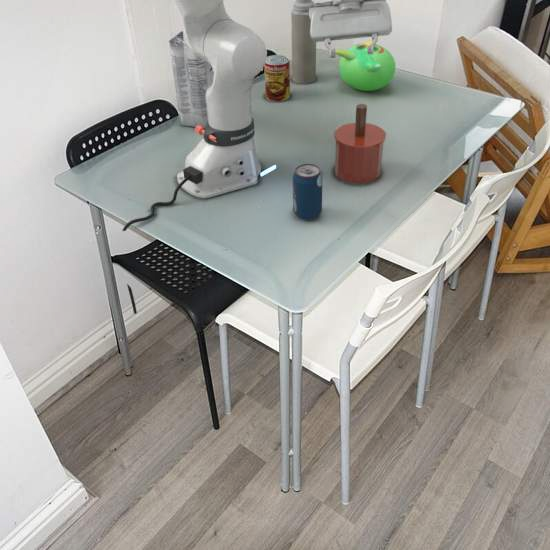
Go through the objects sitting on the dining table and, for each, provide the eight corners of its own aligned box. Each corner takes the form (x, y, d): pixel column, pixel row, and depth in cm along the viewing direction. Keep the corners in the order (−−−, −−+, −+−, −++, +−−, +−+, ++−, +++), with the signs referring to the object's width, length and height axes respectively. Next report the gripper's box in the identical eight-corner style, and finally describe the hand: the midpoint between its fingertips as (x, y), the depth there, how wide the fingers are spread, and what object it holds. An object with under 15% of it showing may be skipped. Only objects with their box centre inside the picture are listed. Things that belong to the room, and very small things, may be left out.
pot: (356, 190, 156) (358, 152, 150) (325, 171, 164) (326, 135, 157) (389, 174, 162) (393, 137, 155) (358, 156, 169) (360, 121, 162)
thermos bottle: (293, 74, 213) (292, -13, 195) (316, 74, 213) (317, -13, 194) (291, 83, 207) (289, -5, 189) (315, 84, 206) (316, -5, 188)
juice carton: (209, 131, 183) (199, 38, 166) (177, 126, 186) (164, 35, 168) (221, 118, 189) (213, 27, 172) (190, 113, 192) (178, 24, 175)
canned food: (262, 100, 198) (260, 63, 190) (269, 90, 204) (268, 53, 196) (286, 102, 196) (285, 65, 189) (292, 92, 202) (292, 55, 194)
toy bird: (400, 84, 204) (405, 39, 195) (379, 104, 193) (383, 57, 184) (351, 74, 212) (353, 30, 202) (328, 92, 201) (329, 47, 192)
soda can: (327, 212, 149) (329, 168, 141) (309, 225, 145) (309, 181, 138) (305, 202, 153) (305, 159, 145) (287, 214, 149) (286, 171, 141)
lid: (358, 156, 150) (360, 123, 144) (323, 137, 157) (324, 104, 152) (396, 139, 155) (399, 107, 150) (360, 122, 163) (362, 90, 158)
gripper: (306, -2, 154) (308, 55, 154) (391, -11, 150) (392, 47, 150) (310, 8, 160) (311, 63, 160) (391, 0, 156) (392, 55, 156)
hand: (351, 55), depth 155 cm, fingers open, 8 cm apart
